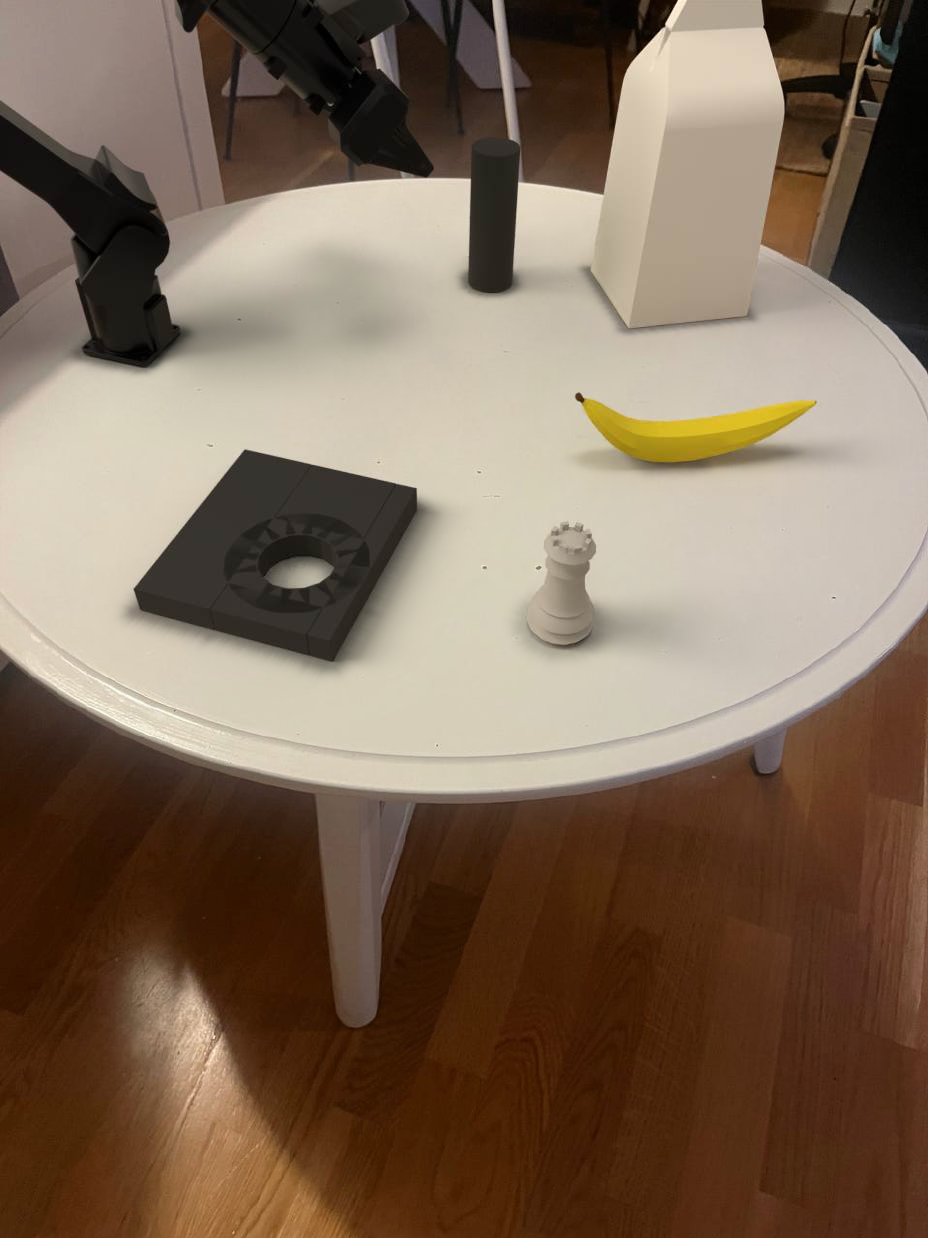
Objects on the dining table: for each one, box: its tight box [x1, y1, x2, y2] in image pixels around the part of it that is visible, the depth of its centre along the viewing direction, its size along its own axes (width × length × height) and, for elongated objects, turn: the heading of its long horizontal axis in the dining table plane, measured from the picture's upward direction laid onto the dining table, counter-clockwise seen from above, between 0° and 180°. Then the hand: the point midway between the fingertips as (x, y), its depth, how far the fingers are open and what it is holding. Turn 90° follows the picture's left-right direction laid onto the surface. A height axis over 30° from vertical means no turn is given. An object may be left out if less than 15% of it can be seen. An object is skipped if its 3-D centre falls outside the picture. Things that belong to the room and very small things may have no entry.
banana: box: [574, 391, 817, 463], centre depth 76 cm, size 3×19×6 cm, turn 95°
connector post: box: [467, 136, 521, 294], centre depth 92 cm, size 4×4×13 cm
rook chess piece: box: [526, 520, 597, 646], centre depth 62 cm, size 4×4×8 cm
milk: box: [590, 0, 785, 329], centre depth 87 cm, size 12×12×26 cm
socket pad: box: [133, 449, 418, 662], centre depth 68 cm, size 14×16×2 cm
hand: (412, 151), depth 85 cm, fingers open, 9 cm apart
